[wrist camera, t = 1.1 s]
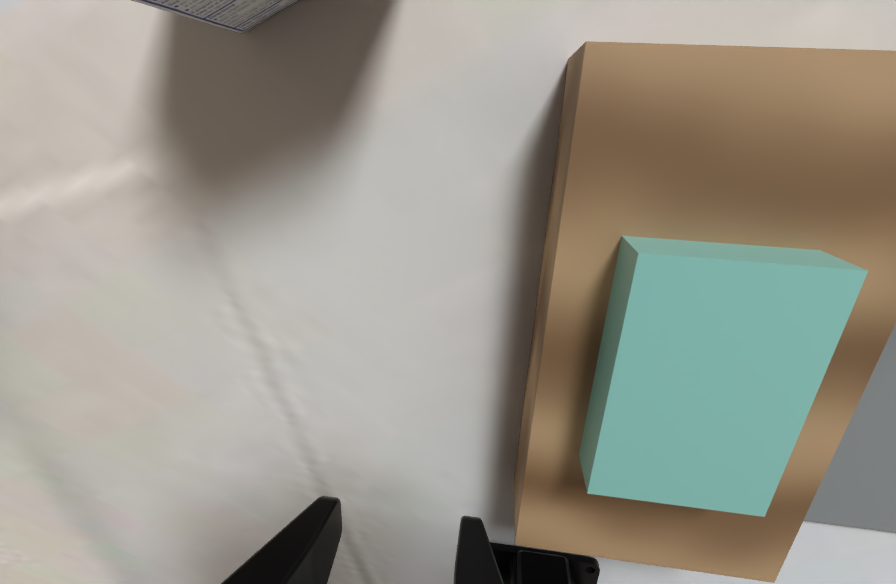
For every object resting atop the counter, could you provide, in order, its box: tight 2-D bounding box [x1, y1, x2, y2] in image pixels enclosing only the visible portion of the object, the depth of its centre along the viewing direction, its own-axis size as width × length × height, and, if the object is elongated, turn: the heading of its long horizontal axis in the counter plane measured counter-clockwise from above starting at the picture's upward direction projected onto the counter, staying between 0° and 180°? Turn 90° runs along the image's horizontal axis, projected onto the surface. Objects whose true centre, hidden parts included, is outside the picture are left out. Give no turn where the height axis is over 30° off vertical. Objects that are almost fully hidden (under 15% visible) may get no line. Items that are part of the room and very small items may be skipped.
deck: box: [514, 42, 896, 583], centre depth 18 cm, size 20×11×4 cm, turn 177°
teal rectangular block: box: [579, 236, 868, 517], centre depth 15 cm, size 9×6×2 cm, turn 177°
